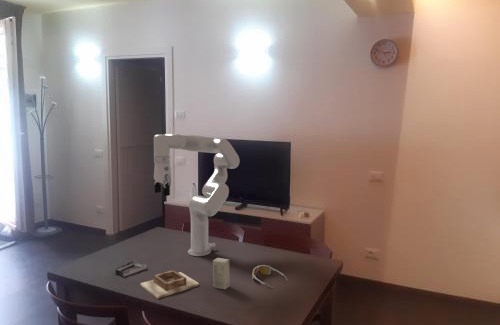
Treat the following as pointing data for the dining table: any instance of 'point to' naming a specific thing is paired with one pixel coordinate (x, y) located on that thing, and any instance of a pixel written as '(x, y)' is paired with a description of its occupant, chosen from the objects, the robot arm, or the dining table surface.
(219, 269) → the skincare box
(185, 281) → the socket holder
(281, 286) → the dining table surface
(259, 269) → the sunglasses
